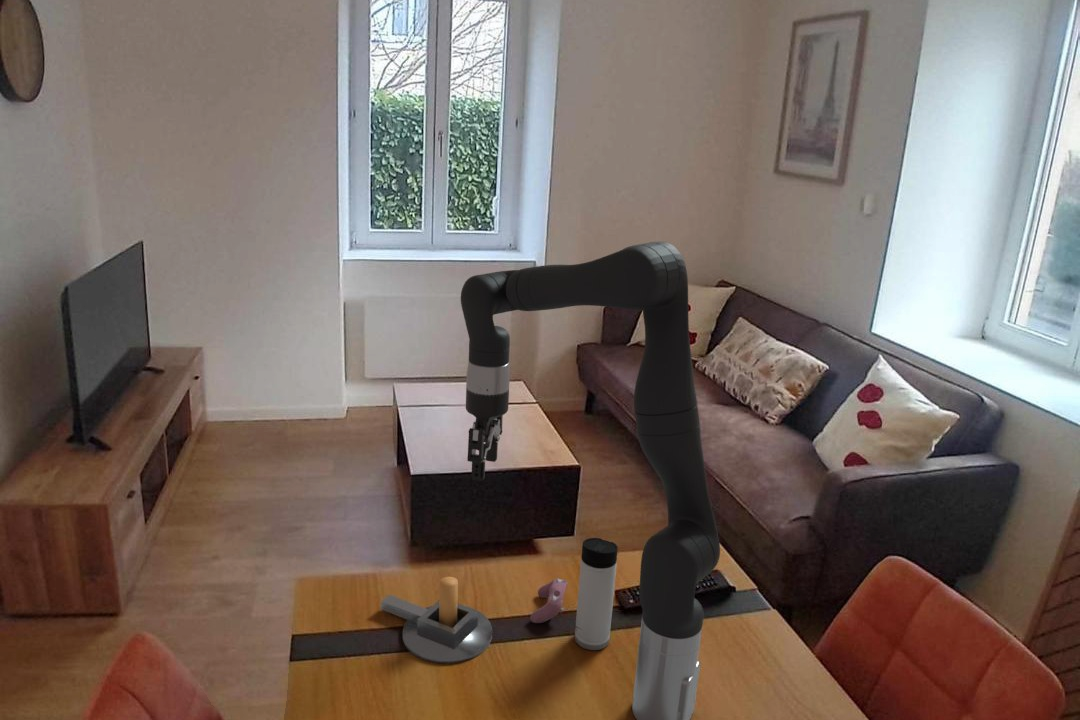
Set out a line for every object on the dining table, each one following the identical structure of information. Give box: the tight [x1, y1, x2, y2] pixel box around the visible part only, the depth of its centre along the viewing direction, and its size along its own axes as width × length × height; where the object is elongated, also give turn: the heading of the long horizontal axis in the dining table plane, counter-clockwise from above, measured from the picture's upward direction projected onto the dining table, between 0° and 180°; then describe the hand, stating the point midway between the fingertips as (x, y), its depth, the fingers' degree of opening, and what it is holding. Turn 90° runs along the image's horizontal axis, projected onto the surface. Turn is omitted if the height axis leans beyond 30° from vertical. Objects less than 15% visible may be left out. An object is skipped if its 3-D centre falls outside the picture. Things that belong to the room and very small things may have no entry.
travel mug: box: [574, 537, 619, 651], centre depth 145 cm, size 6×7×20 cm
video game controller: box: [529, 577, 569, 624], centre depth 155 cm, size 10×5×7 cm, turn 171°
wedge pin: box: [438, 576, 459, 628], centre depth 146 cm, size 3×3×10 cm
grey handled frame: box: [380, 594, 493, 664], centre depth 148 cm, size 22×16×4 cm
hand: (484, 469), depth 149 cm, fingers open, 8 cm apart
